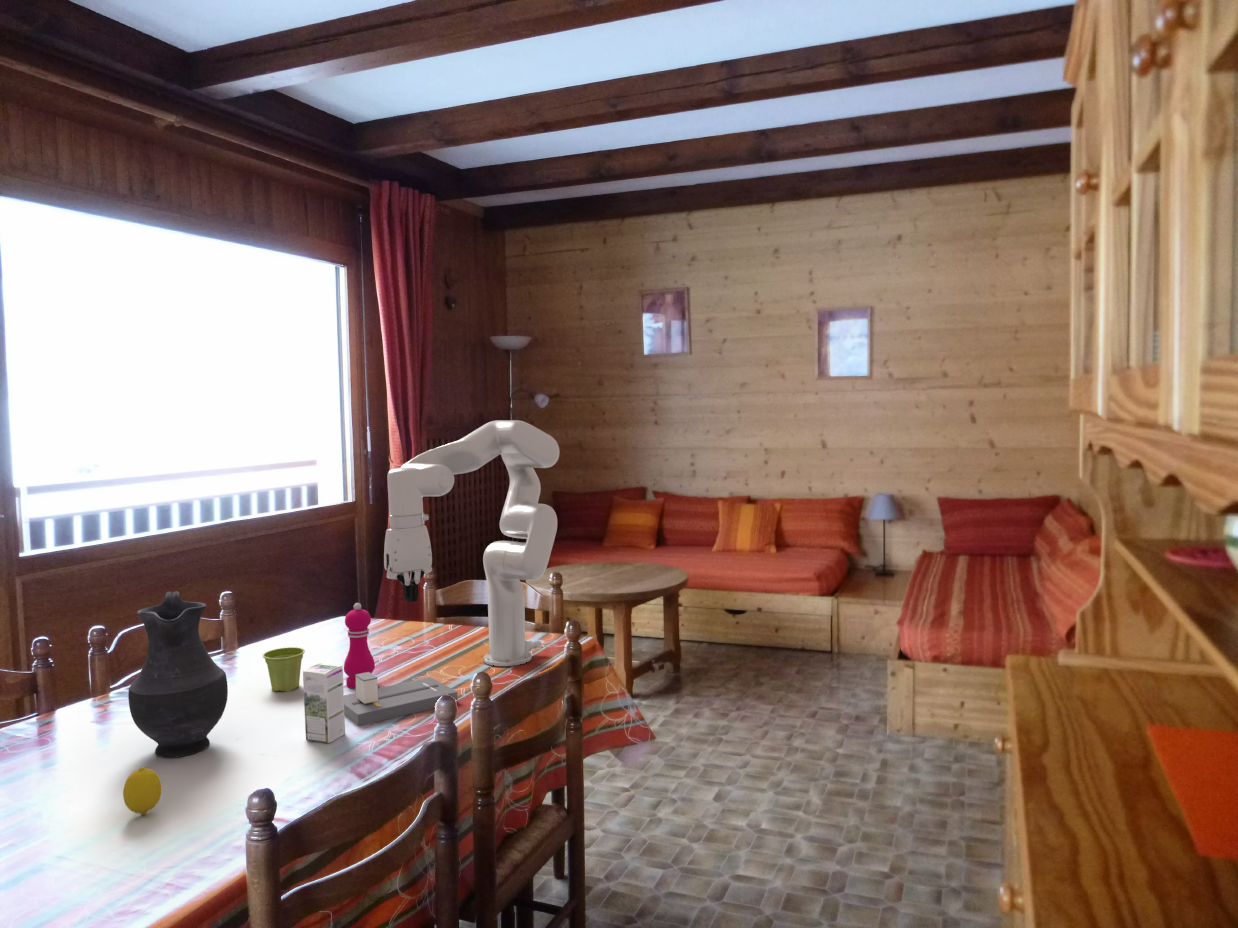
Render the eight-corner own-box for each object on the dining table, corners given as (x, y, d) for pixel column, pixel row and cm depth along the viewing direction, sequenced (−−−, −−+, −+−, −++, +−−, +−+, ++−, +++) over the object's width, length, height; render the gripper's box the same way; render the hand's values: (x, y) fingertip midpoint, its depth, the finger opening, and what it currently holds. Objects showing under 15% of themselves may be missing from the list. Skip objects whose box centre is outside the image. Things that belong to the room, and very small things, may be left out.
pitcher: (129, 773, 160) (121, 612, 158) (133, 736, 178) (126, 591, 176) (232, 754, 168) (226, 601, 166) (226, 721, 186) (220, 583, 184)
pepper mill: (379, 680, 213) (377, 599, 212) (368, 689, 206) (366, 606, 205) (351, 679, 214) (348, 599, 213) (339, 688, 207) (336, 606, 206)
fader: (369, 694, 193) (368, 671, 193) (378, 700, 189) (377, 677, 189) (355, 697, 192) (355, 674, 191) (364, 703, 187) (363, 680, 187)
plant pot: (272, 697, 202) (271, 660, 201) (258, 687, 209) (257, 652, 208) (312, 688, 208) (310, 652, 207) (297, 679, 215) (295, 644, 214)
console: (430, 687, 207) (430, 676, 207) (457, 702, 196) (457, 691, 196) (335, 708, 193) (334, 696, 193) (358, 725, 182) (357, 713, 182)
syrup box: (346, 733, 178) (344, 664, 177) (328, 744, 172) (325, 672, 171) (323, 730, 180) (320, 661, 179) (304, 741, 174) (301, 670, 173)
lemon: (134, 807, 146) (131, 761, 145) (168, 806, 146) (166, 759, 146) (118, 823, 140) (115, 775, 140) (153, 821, 141) (151, 773, 140)
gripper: (429, 516, 205) (433, 592, 207) (368, 524, 196) (373, 603, 198) (444, 519, 199) (448, 597, 201) (382, 527, 190) (387, 609, 192)
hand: (411, 600), depth 199 cm, fingers closed
